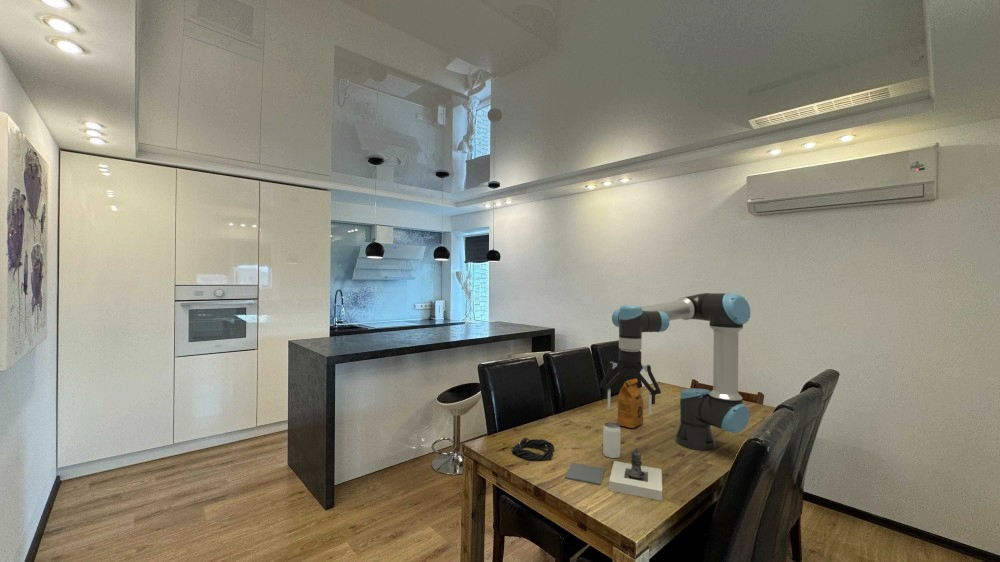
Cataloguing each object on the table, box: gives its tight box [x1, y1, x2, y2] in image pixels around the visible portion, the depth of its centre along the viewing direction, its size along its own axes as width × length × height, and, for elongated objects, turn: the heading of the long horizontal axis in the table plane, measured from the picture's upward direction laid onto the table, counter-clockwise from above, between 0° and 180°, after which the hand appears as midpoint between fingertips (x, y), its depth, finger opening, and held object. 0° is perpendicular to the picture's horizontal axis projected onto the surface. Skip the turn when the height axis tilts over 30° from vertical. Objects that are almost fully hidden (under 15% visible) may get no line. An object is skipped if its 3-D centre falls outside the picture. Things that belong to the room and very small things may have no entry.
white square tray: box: [608, 460, 663, 502], centre depth 131 cm, size 16×16×3 cm
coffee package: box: [617, 378, 644, 429], centre depth 188 cm, size 10×12×22 cm
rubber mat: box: [564, 462, 606, 486], centre depth 137 cm, size 12×12×1 cm
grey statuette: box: [627, 447, 646, 481], centre depth 131 cm, size 6×6×12 cm
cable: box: [511, 437, 555, 461], centre depth 154 cm, size 17×14×4 cm
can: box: [602, 421, 621, 459], centre depth 153 cm, size 6×6×12 cm
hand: (629, 410), depth 135 cm, fingers open, 13 cm apart
